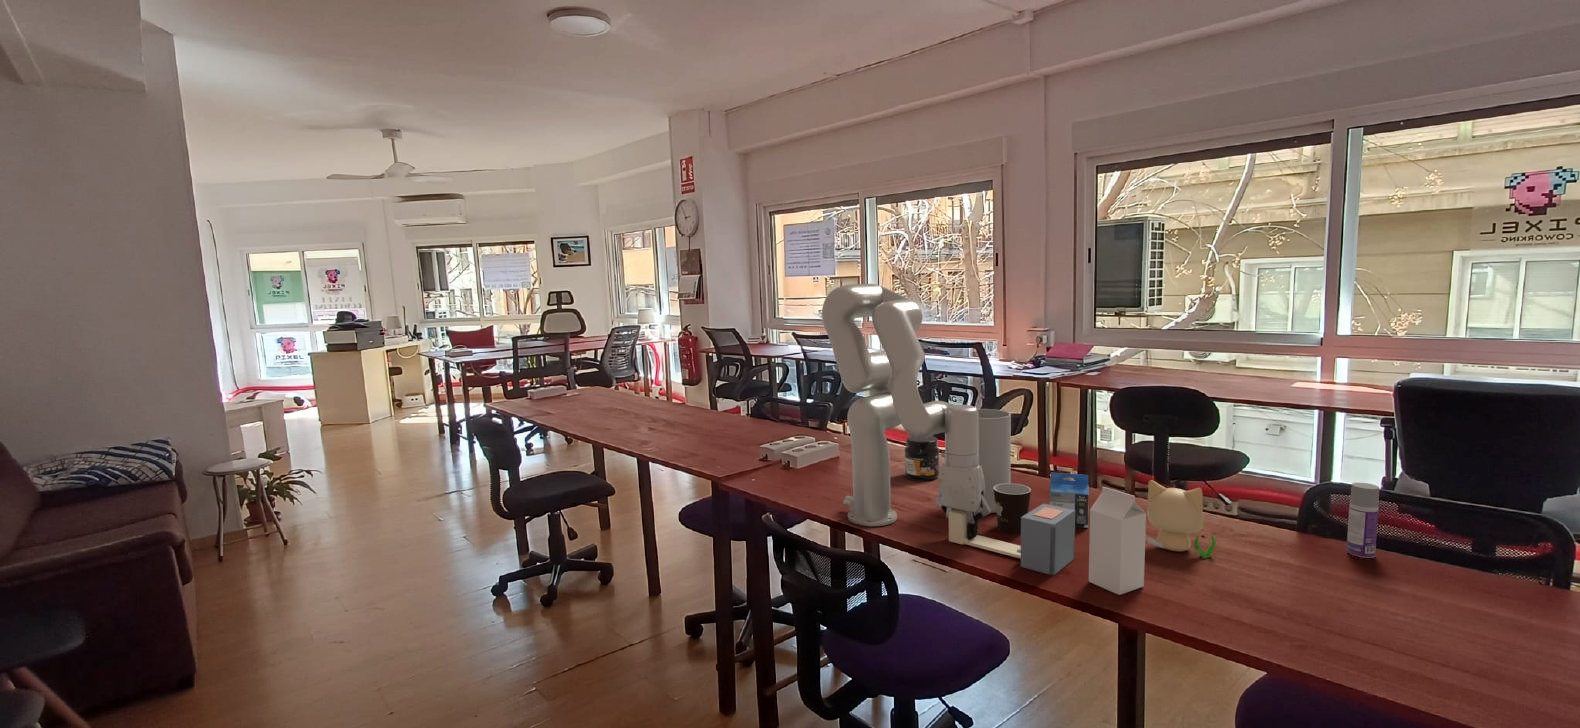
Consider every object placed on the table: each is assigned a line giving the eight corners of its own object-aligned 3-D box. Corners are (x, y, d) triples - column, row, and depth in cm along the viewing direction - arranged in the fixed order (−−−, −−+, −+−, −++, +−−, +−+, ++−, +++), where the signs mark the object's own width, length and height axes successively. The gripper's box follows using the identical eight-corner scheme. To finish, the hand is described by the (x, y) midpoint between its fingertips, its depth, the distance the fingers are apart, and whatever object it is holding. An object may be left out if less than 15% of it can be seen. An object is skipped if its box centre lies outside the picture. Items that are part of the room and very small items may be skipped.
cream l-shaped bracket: (948, 541, 161) (948, 511, 160) (961, 533, 166) (961, 505, 165) (1019, 560, 149) (1020, 528, 149) (1032, 551, 154) (1032, 520, 153)
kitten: (1220, 550, 152) (1223, 483, 150) (1209, 565, 144) (1212, 495, 142) (1146, 535, 162) (1148, 472, 160) (1132, 548, 154) (1134, 482, 153)
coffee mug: (1033, 536, 163) (1033, 495, 162) (994, 534, 165) (994, 493, 164) (1026, 519, 175) (1026, 480, 173) (990, 517, 176) (990, 479, 175)
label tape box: (1049, 525, 170) (1049, 476, 168) (1049, 519, 174) (1050, 471, 172) (1088, 529, 167) (1089, 479, 165) (1087, 523, 170) (1089, 474, 169)
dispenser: (1015, 565, 148) (1015, 515, 146) (1037, 549, 156) (1038, 501, 154) (1053, 575, 142) (1054, 523, 141) (1074, 558, 150) (1075, 509, 149)
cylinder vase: (1015, 502, 187) (1016, 411, 184) (1002, 517, 177) (1003, 420, 173) (970, 496, 194) (969, 407, 191) (954, 509, 183) (954, 416, 180)
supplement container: (904, 481, 209) (904, 442, 208) (904, 471, 220) (904, 434, 218) (940, 482, 208) (940, 442, 206) (938, 472, 218) (938, 434, 216)
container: (1370, 552, 148) (1375, 483, 146) (1378, 560, 144) (1383, 490, 142) (1343, 549, 150) (1348, 481, 148) (1350, 557, 146) (1354, 487, 144)
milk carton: (1119, 596, 132) (1122, 499, 130) (1088, 582, 139) (1090, 489, 136) (1144, 587, 136) (1147, 492, 133) (1112, 574, 142) (1114, 483, 139)
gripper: (921, 457, 163) (923, 532, 165) (987, 468, 151) (988, 549, 154) (938, 450, 168) (939, 523, 170) (1003, 461, 157) (1004, 539, 159)
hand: (962, 535), depth 162 cm, fingers closed on cream l-shaped bracket, 4 cm apart
